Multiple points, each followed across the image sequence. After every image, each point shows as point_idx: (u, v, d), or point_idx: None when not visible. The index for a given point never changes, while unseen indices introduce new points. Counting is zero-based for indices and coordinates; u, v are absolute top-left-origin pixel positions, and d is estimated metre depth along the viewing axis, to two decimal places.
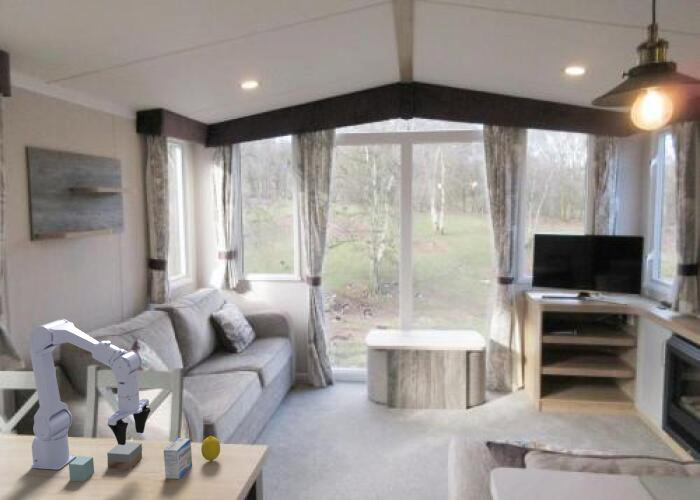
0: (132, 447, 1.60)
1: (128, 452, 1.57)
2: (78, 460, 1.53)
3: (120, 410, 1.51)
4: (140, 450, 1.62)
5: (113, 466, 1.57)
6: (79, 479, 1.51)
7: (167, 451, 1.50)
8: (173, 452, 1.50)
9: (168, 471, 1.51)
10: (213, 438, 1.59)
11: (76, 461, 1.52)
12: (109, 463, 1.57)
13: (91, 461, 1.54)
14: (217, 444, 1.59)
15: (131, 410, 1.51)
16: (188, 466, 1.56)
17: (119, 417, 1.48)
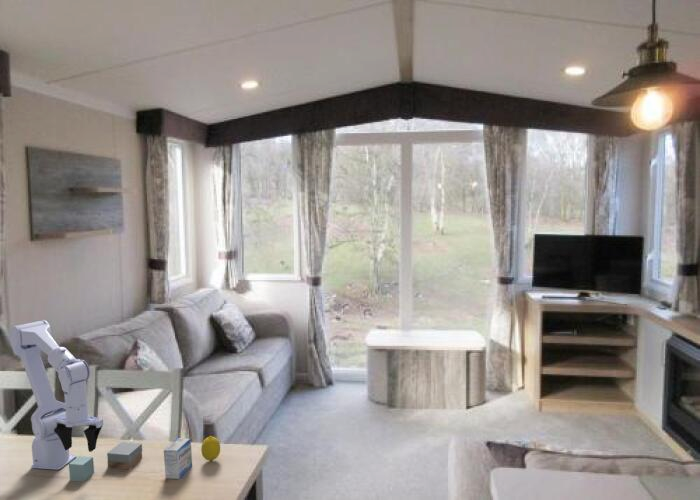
0: (132, 448, 1.60)
1: (128, 452, 1.57)
2: (78, 460, 1.53)
3: None
4: (140, 450, 1.62)
5: (113, 467, 1.57)
6: (79, 479, 1.51)
7: (167, 451, 1.50)
8: (173, 452, 1.50)
9: (168, 471, 1.51)
10: (213, 438, 1.59)
11: (76, 461, 1.52)
12: (109, 463, 1.57)
13: (91, 461, 1.54)
14: (217, 444, 1.59)
15: (66, 420, 1.49)
16: (188, 466, 1.56)
17: (57, 420, 1.51)
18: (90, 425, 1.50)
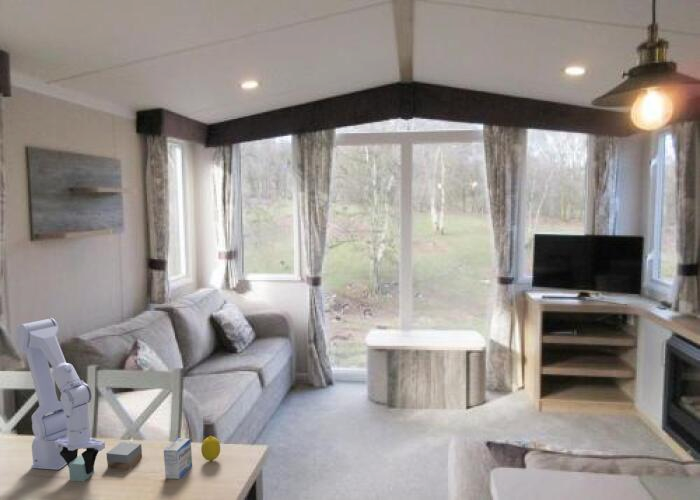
0: (132, 448, 1.60)
1: (127, 453, 1.57)
2: (78, 459, 1.53)
3: None
4: (139, 451, 1.62)
5: (113, 466, 1.57)
6: (79, 478, 1.51)
7: (167, 451, 1.50)
8: (173, 452, 1.50)
9: (168, 471, 1.51)
10: (213, 438, 1.59)
11: (76, 461, 1.52)
12: (109, 463, 1.57)
13: None
14: (217, 444, 1.59)
15: (68, 443, 1.50)
16: (188, 466, 1.56)
17: (59, 443, 1.51)
18: (92, 448, 1.51)
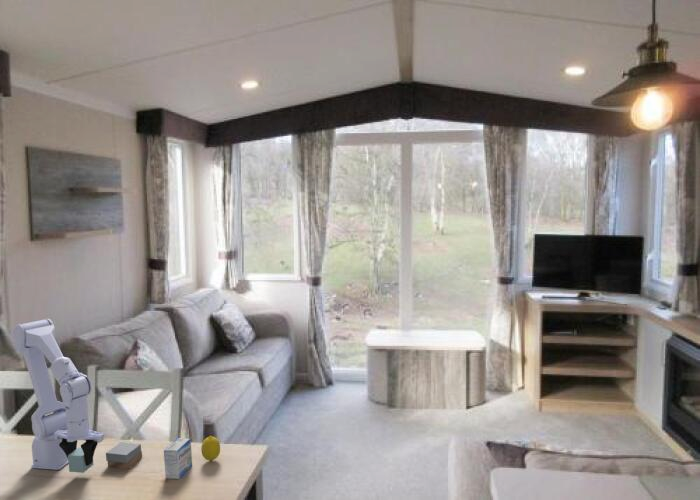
0: (131, 448, 1.60)
1: (126, 453, 1.57)
2: (78, 451, 1.52)
3: None
4: (139, 451, 1.62)
5: (114, 467, 1.57)
6: (78, 470, 1.50)
7: (167, 451, 1.50)
8: (173, 452, 1.50)
9: (168, 471, 1.51)
10: (213, 438, 1.59)
11: (75, 452, 1.52)
12: (109, 463, 1.58)
13: None
14: (217, 444, 1.59)
15: (68, 435, 1.49)
16: (188, 466, 1.56)
17: (59, 435, 1.51)
18: (91, 440, 1.50)
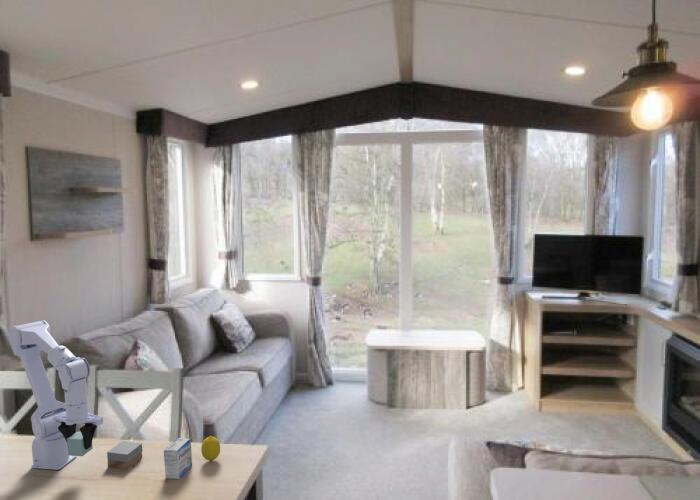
0: (132, 447, 1.60)
1: (127, 452, 1.57)
2: (77, 435, 1.52)
3: None
4: (140, 450, 1.62)
5: (113, 466, 1.57)
6: (77, 453, 1.50)
7: (167, 451, 1.50)
8: (173, 452, 1.50)
9: (168, 471, 1.51)
10: (213, 438, 1.59)
11: (74, 436, 1.51)
12: (109, 463, 1.57)
13: None
14: (217, 444, 1.59)
15: (66, 418, 1.49)
16: (188, 466, 1.56)
17: (57, 418, 1.51)
18: (90, 423, 1.50)
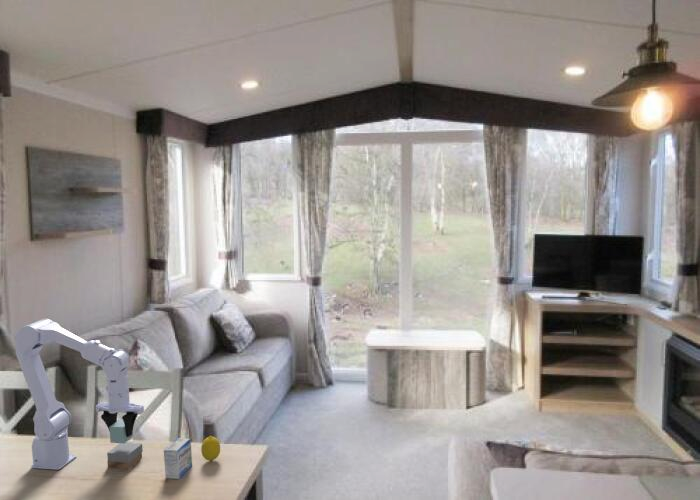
0: (132, 448, 1.60)
1: (127, 452, 1.57)
2: (118, 423, 1.59)
3: None
4: (140, 450, 1.62)
5: (113, 466, 1.57)
6: (119, 441, 1.57)
7: (167, 451, 1.50)
8: (173, 452, 1.50)
9: (168, 471, 1.51)
10: (213, 438, 1.59)
11: (116, 424, 1.58)
12: (109, 463, 1.57)
13: None
14: (217, 444, 1.59)
15: (109, 407, 1.56)
16: (188, 466, 1.56)
17: (100, 407, 1.58)
18: (131, 412, 1.57)
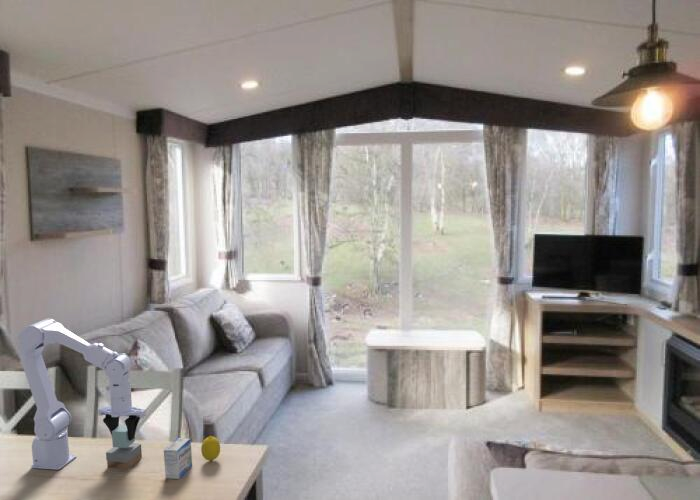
0: (131, 448, 1.60)
1: (126, 452, 1.57)
2: (120, 427, 1.59)
3: None
4: (139, 451, 1.62)
5: (113, 466, 1.57)
6: (121, 445, 1.57)
7: (167, 451, 1.50)
8: (173, 452, 1.50)
9: (168, 471, 1.51)
10: (213, 438, 1.59)
11: (118, 429, 1.59)
12: (109, 463, 1.57)
13: None
14: (217, 444, 1.59)
15: (112, 411, 1.57)
16: (188, 466, 1.56)
17: (103, 411, 1.58)
18: (134, 415, 1.58)
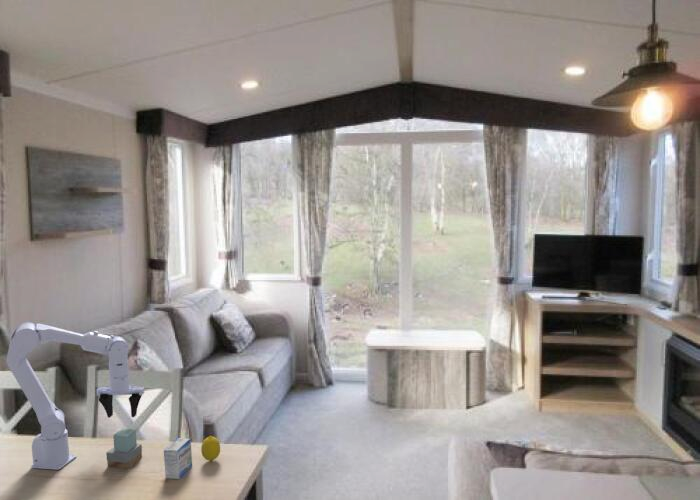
0: None
1: (126, 453, 1.57)
2: (122, 432, 1.60)
3: None
4: (139, 451, 1.62)
5: (113, 466, 1.58)
6: (122, 450, 1.58)
7: (167, 451, 1.50)
8: (173, 452, 1.50)
9: (168, 471, 1.51)
10: (213, 438, 1.59)
11: (120, 433, 1.59)
12: (109, 463, 1.58)
13: (134, 434, 1.61)
14: (217, 444, 1.59)
15: (111, 390, 1.66)
16: (188, 466, 1.56)
17: (101, 391, 1.67)
18: (133, 393, 1.68)
